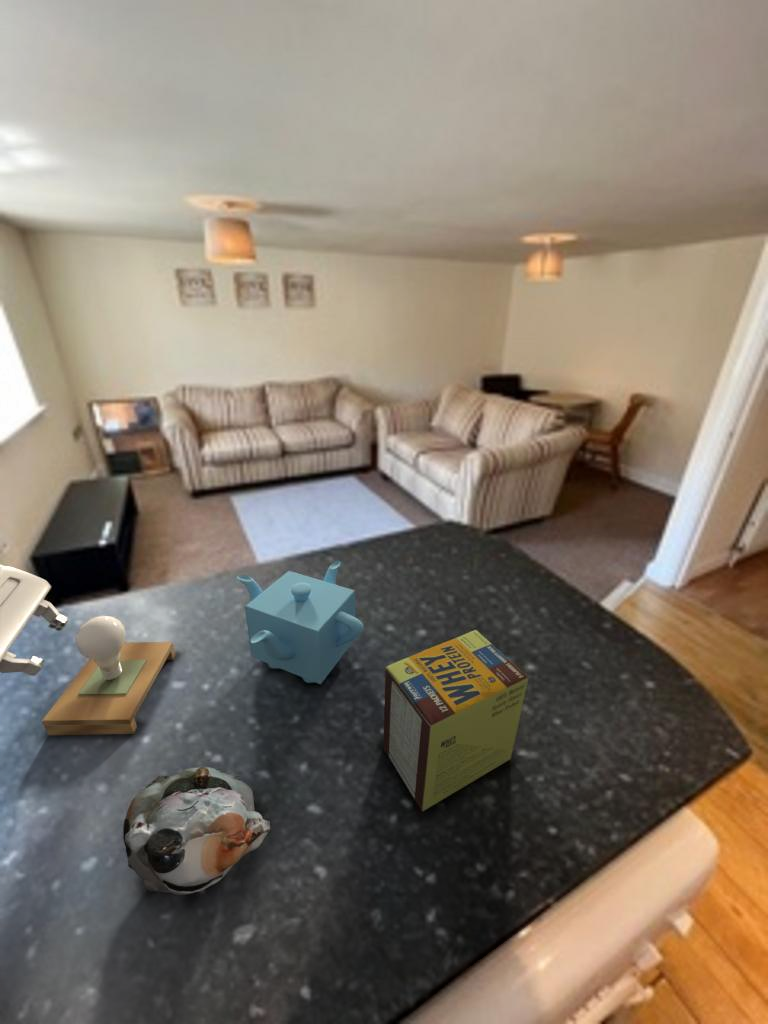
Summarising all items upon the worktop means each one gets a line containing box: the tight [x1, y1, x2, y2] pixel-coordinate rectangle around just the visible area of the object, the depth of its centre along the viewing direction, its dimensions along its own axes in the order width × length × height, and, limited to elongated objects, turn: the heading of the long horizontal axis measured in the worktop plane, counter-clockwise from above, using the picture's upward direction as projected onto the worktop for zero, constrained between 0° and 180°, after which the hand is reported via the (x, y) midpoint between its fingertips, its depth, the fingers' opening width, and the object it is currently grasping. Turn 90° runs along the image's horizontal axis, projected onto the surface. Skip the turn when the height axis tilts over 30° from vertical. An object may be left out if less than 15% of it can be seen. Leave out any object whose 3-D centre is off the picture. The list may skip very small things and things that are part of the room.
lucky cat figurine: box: [122, 766, 271, 896], centre depth 49 cm, size 15×12×14 cm
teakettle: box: [236, 560, 364, 685], centre depth 77 cm, size 19×19×15 cm
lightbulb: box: [75, 615, 127, 680], centre depth 68 cm, size 6×6×11 cm
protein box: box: [382, 629, 529, 812], centre depth 60 cm, size 10×15×16 cm
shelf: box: [41, 641, 176, 736], centre depth 71 cm, size 12×16×3 cm
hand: (53, 645), depth 66 cm, fingers open, 8 cm apart
